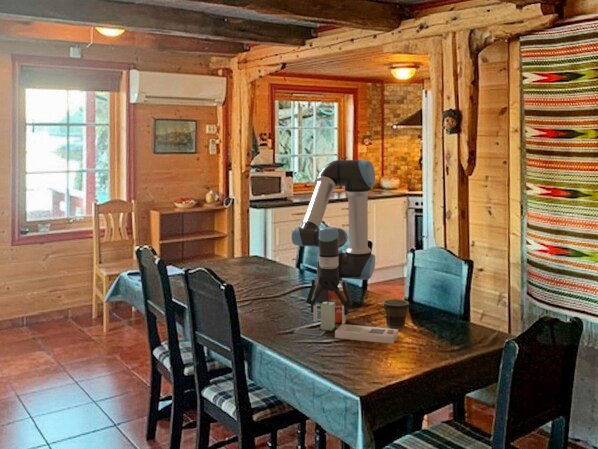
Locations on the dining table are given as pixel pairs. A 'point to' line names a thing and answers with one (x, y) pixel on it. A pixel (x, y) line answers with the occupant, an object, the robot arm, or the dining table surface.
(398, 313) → the ceramic cup
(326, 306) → the block
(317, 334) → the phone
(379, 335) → the power strip
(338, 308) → the coffee cup
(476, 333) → the dining table surface
